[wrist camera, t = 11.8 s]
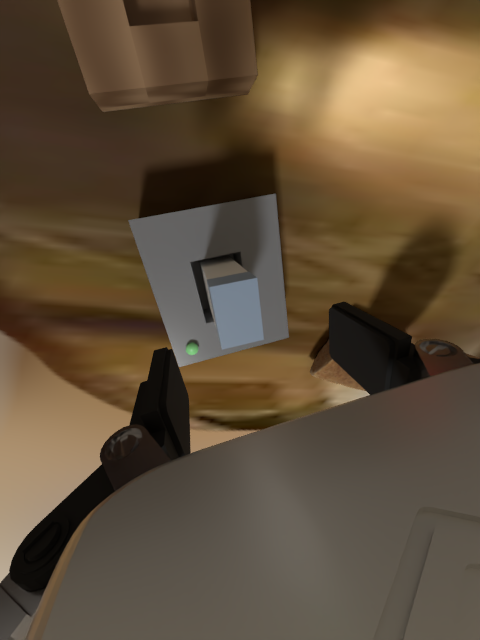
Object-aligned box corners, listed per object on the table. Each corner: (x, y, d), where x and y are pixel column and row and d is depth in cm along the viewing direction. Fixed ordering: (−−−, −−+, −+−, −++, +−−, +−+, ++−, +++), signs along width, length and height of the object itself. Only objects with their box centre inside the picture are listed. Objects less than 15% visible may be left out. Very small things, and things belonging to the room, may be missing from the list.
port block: (259, 197, 23) (277, 192, 19) (274, 321, 29) (290, 339, 25) (138, 220, 22) (127, 220, 18) (179, 345, 28) (179, 369, 24)
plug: (228, 254, 24) (257, 277, 15) (234, 296, 26) (263, 339, 17) (198, 260, 24) (209, 287, 14) (207, 301, 26) (222, 349, 16)
